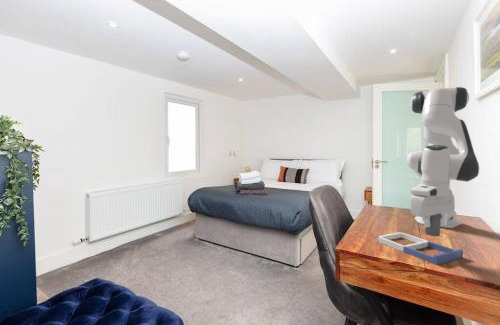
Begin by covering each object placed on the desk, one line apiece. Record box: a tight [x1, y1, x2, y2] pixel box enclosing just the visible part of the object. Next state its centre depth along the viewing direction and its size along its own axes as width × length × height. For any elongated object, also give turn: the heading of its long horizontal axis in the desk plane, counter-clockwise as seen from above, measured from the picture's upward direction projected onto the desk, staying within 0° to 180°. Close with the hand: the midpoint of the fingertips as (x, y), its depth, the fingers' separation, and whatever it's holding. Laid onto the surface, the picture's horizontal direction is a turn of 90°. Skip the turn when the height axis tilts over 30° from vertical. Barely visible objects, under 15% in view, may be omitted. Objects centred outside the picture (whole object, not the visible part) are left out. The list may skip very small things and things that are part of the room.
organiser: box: [376, 231, 464, 265], centre depth 101 cm, size 15×24×3 cm, turn 23°
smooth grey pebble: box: [424, 214, 441, 237], centre depth 95 cm, size 4×4×8 cm
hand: (432, 226), depth 95 cm, fingers closed on smooth grey pebble, 4 cm apart
